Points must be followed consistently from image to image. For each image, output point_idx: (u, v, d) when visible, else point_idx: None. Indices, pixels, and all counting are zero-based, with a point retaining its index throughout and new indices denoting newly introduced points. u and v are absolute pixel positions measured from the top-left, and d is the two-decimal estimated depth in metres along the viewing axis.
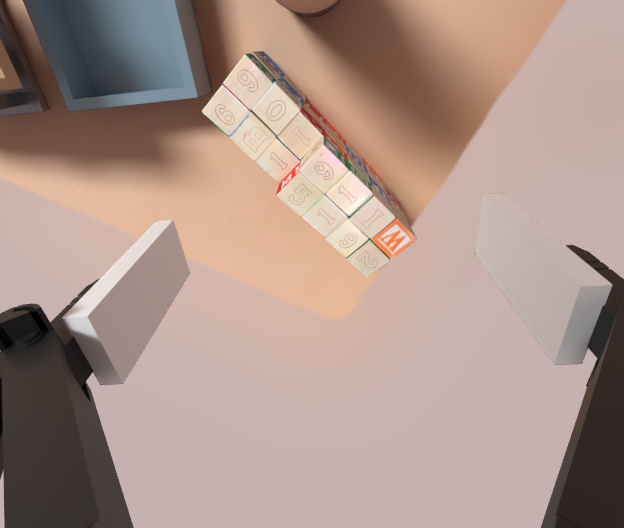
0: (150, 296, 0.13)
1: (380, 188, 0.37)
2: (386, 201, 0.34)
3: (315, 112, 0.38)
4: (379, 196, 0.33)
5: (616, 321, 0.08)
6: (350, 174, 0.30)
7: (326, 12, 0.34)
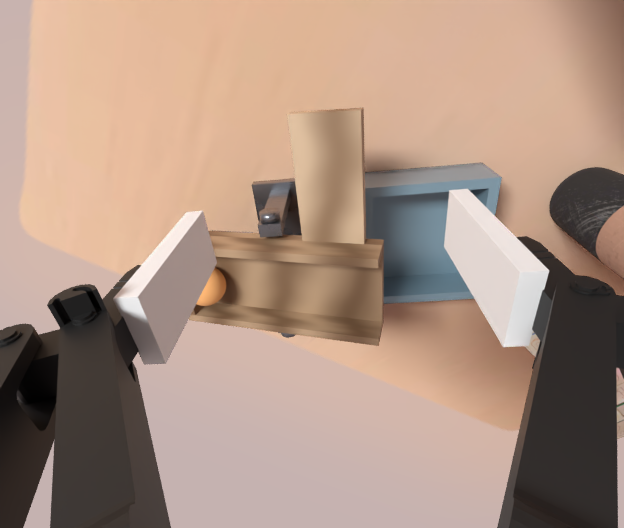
0: (186, 282, 0.14)
1: None
2: None
3: None
4: None
5: (553, 306, 0.09)
6: None
7: None
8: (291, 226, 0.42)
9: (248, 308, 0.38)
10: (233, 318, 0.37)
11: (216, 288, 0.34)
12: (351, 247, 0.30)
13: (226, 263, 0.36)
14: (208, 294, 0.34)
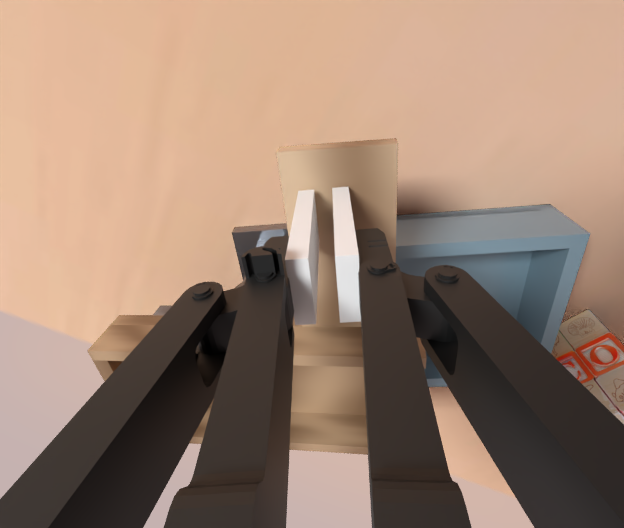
0: (315, 253, 0.15)
1: None
2: None
3: None
4: None
5: (360, 291, 0.10)
6: None
7: None
8: None
9: None
10: None
11: None
12: None
13: None
14: None
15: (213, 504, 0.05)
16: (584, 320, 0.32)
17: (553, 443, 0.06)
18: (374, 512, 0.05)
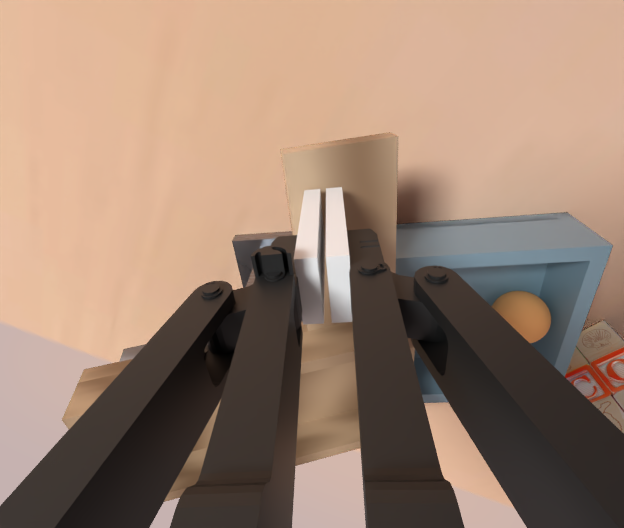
0: (322, 252, 0.15)
1: None
2: None
3: None
4: None
5: (351, 292, 0.10)
6: None
7: None
8: None
9: None
10: None
11: None
12: None
13: None
14: None
15: (220, 504, 0.05)
16: (599, 332, 0.30)
17: (543, 441, 0.06)
18: (367, 513, 0.05)
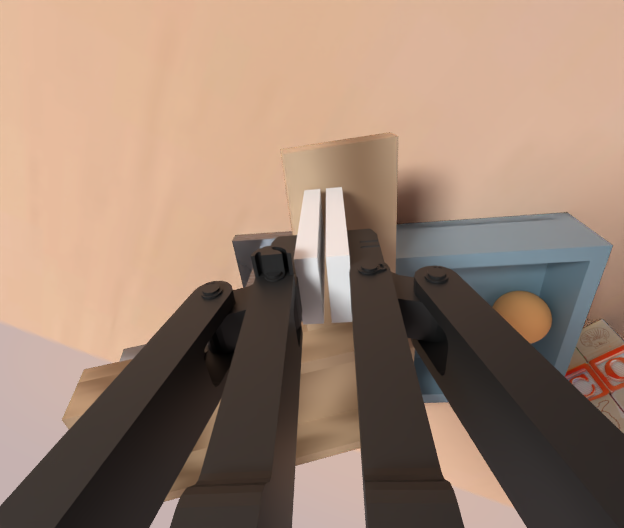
0: (322, 252, 0.15)
1: None
2: None
3: None
4: None
5: (351, 292, 0.10)
6: None
7: None
8: None
9: None
10: None
11: None
12: None
13: None
14: None
15: (219, 504, 0.05)
16: (598, 330, 0.30)
17: (543, 442, 0.06)
18: (367, 513, 0.05)
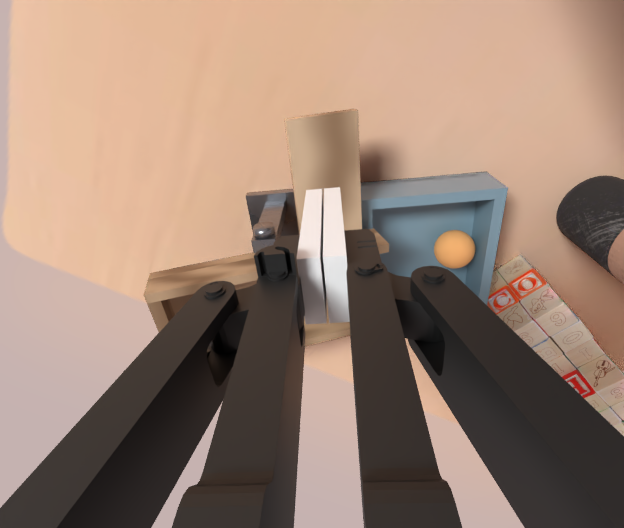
0: None
1: None
2: None
3: None
4: None
5: (348, 292, 0.10)
6: None
7: None
8: None
9: None
10: None
11: None
12: None
13: None
14: None
15: (222, 504, 0.05)
16: (516, 262, 0.41)
17: (540, 441, 0.06)
18: (366, 514, 0.05)
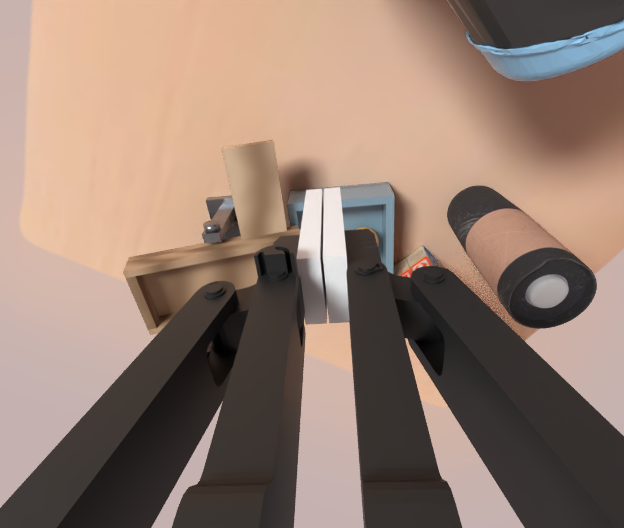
0: None
1: None
2: None
3: None
4: None
5: (348, 292, 0.10)
6: None
7: None
8: None
9: None
10: None
11: None
12: (280, 234, 0.43)
13: (176, 275, 0.43)
14: (378, 239, 0.49)
15: (222, 504, 0.05)
16: (418, 251, 0.52)
17: (539, 441, 0.06)
18: (365, 514, 0.05)
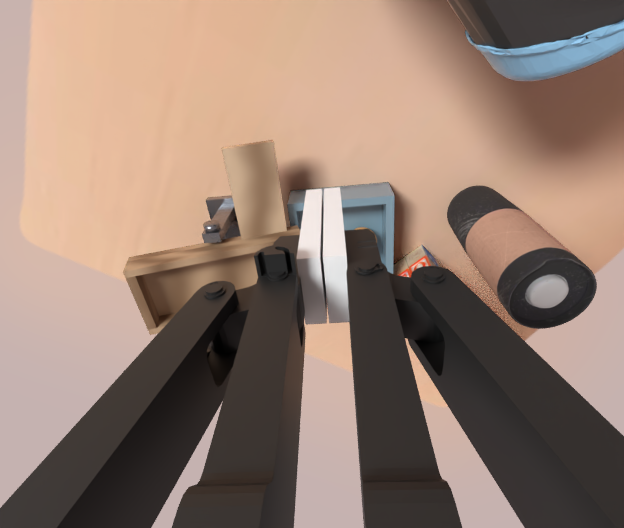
0: None
1: None
2: None
3: None
4: None
5: (348, 292, 0.10)
6: None
7: None
8: (239, 233, 0.51)
9: None
10: None
11: None
12: (280, 234, 0.43)
13: (176, 275, 0.43)
14: (376, 240, 0.49)
15: (222, 503, 0.05)
16: (417, 251, 0.52)
17: (540, 441, 0.06)
18: (366, 514, 0.05)
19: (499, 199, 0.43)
